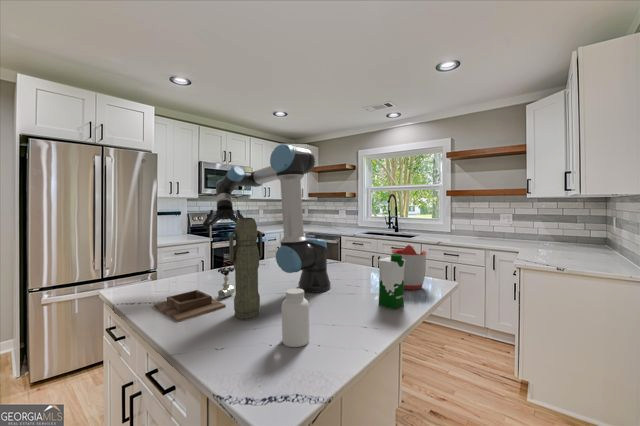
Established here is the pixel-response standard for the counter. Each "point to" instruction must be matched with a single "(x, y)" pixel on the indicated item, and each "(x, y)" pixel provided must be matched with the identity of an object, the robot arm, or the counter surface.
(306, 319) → the pill bottle
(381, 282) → the milk carton
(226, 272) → the valve
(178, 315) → the dock board
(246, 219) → the thermos
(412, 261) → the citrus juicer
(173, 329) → the counter surface
